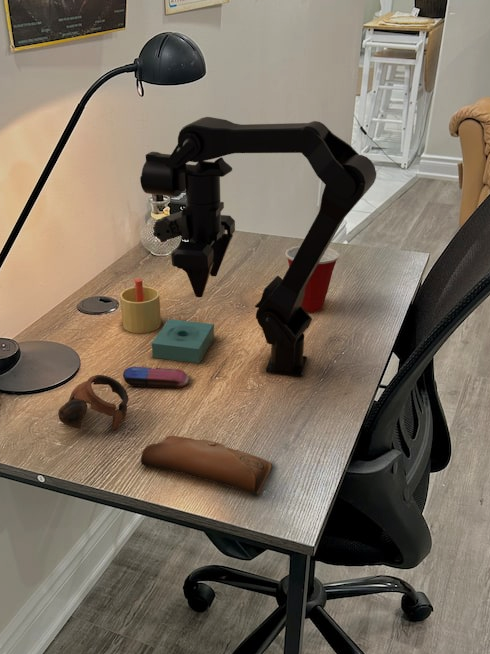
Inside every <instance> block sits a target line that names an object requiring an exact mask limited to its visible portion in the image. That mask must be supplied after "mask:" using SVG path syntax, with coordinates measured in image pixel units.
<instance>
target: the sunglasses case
mask: <svg viewBox="0 0 490 654" xmlns="http://www.w3.org/2000/svg"><path fill="white" fill-rule="evenodd" d="M140 463H141V465H142V466H144V467H148V468H152V469H158V470H163V471H170V472H171V473H178V474H183V475H186V476H190V477H194V478H196V479H200V480H206V481H209V482H212V483H216V484H219V485H222V486H223V485H224V486H227V487H231V488H233V489H234V488H235V489H238V490H242V491H245V492H249V493H252V494H253V493H254V494H256V495H259V494H260V493H261V491H262V489H263V487H264V485H265V484H266V482H267V480H268V477H269V475H270V473H271V471H272V468H273V464H272V463H271V462H270V461H268V460H266V459H265V458H262V457H259V456H256V455H254V454H251V453H249V452H245V451H241V450H238V449H235V448H230V447H228V446H226V445H225V444H223V443H220V442H216V441H212V440H208V439H195V438H191V437H185V436H178V435H169V436H167V437H165V438H164V439H163V440H161V441H159V442H157V443H151V444H148V445H147V446H145V447H144V449H143V450H142V453H141V456H140Z"/></svg>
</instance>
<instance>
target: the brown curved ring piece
mask: <svg viewBox="0 0 490 654" xmlns="http://www.w3.org/2000/svg"><path fill="white" fill-rule="evenodd" d="M92 384H93V385H95V386H96V385H103V386H109V387H110V388H111V392H112V393H115V394H117V396H118V397H119V398H120V400H121V402H120V403H119V404H118V408H117V405H116V404H115V403H112V402H108V401H105V400H104V399H102V398H101V397H100V396H98V395H97V394H96V393H95V392H94V389H93V386H92ZM128 403H129V395H128V392H127V389H126V388H125V387H124V386H123V385H122V383H120V382H119V381H118V380H116V379H114V378H113V377H111V376H109V375H105V374H104V375H103V374H96V375H93V376H91V377H89V378H88V379H87V380H86V381H82V382H81V383H79V384H77V385H76V387H75V388H73V390H72V391H71V394H70V396H69V399H68V401H67V402H65V403H64V405H62V406H61V407H60V408H59V409H58V411H57V414H58V415H57V416H58V419H59V421H60V422H61V423H63V424H64V425H66V426H70V427H71V428H74V429H78V430H79V429H81V424H82V422H83V419H84V417H85V416H86V414H87V413H88V412H87V411H88V405H90V407H89V409H90V410H93V411H95V412H97V413H99V414H104V415H106V416H108V417H112V419H113V420H112V423H111V426H110V428H111V429H112V430H115V429H119V427H120V426H121V424H122V421H124V420H125V418H126V416H127V411H128Z"/></svg>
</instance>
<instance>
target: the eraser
mask: <svg viewBox="0 0 490 654" xmlns="http://www.w3.org/2000/svg"><path fill="white" fill-rule="evenodd" d="M122 376H123V379H124V383H126V384H127V385H128V386H131V387H149V388H150V387H151V388H167V389H181V388H184V387H186V386H187V385H189V381H190V379H189V375H188V374H187V373H186V372H185V371H184V370H182V369H178V368H161V367H160V368H159V367H155V368H153V367H145V366H130V367H127V368H125V369H124V371H123V375H122Z"/></svg>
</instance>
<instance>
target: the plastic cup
mask: <svg viewBox="0 0 490 654" xmlns="http://www.w3.org/2000/svg"><path fill="white" fill-rule="evenodd" d="M300 246H301V245H299V246H293V247H290V248H287V249H286V251H285V252H284V254H285V257H286V259H287V262H288V268H289V267H290V265H291V263H292V261H293V259H294V257H295V256H296V254H297V252H298V250H299V248H300ZM340 256H341V255H340V252H339V251H338V250H336V249H333V248H331V247H327V249H326V251H325V253H324V254H323V256H322V258H321V260H320V261H319V263H318V265H317V267H316V268H315V270H314V272H313V274H312V275H311V277H310V279H309V281H308V282H307V284H306V287H305V294H304V298H303V301H302V304H301V306H302V307H303V308H304V310H305V311H306V312H307V313H308V314H309V313H317V312H319V311H321V310H323V307H324V305H325V303H326V302H325V301H326V297H327V294H328V291H329V287H330V284H331V280H332V277H333V272H334V269H335V265H336V263H337V261H338V260H339V257H340Z"/></svg>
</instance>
